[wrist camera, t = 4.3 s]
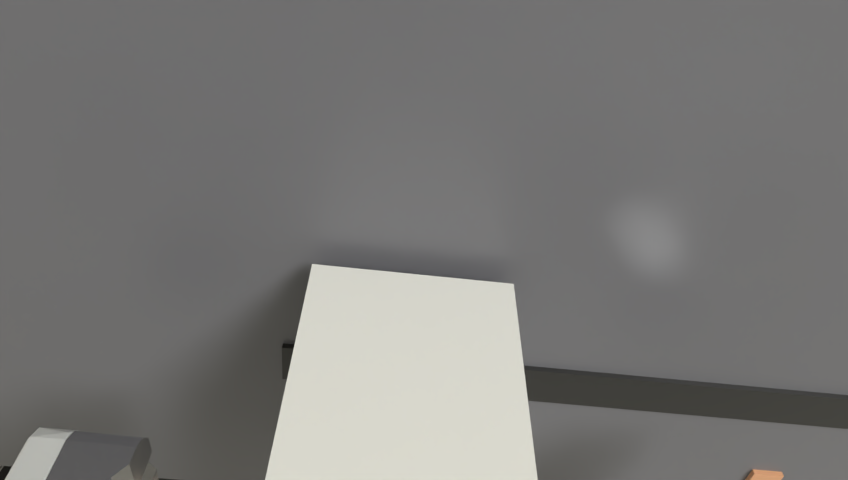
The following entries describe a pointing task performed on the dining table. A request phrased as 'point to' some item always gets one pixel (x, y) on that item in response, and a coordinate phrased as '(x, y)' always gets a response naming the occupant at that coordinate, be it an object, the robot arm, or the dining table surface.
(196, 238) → the mixer panel
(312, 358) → the fader knob
